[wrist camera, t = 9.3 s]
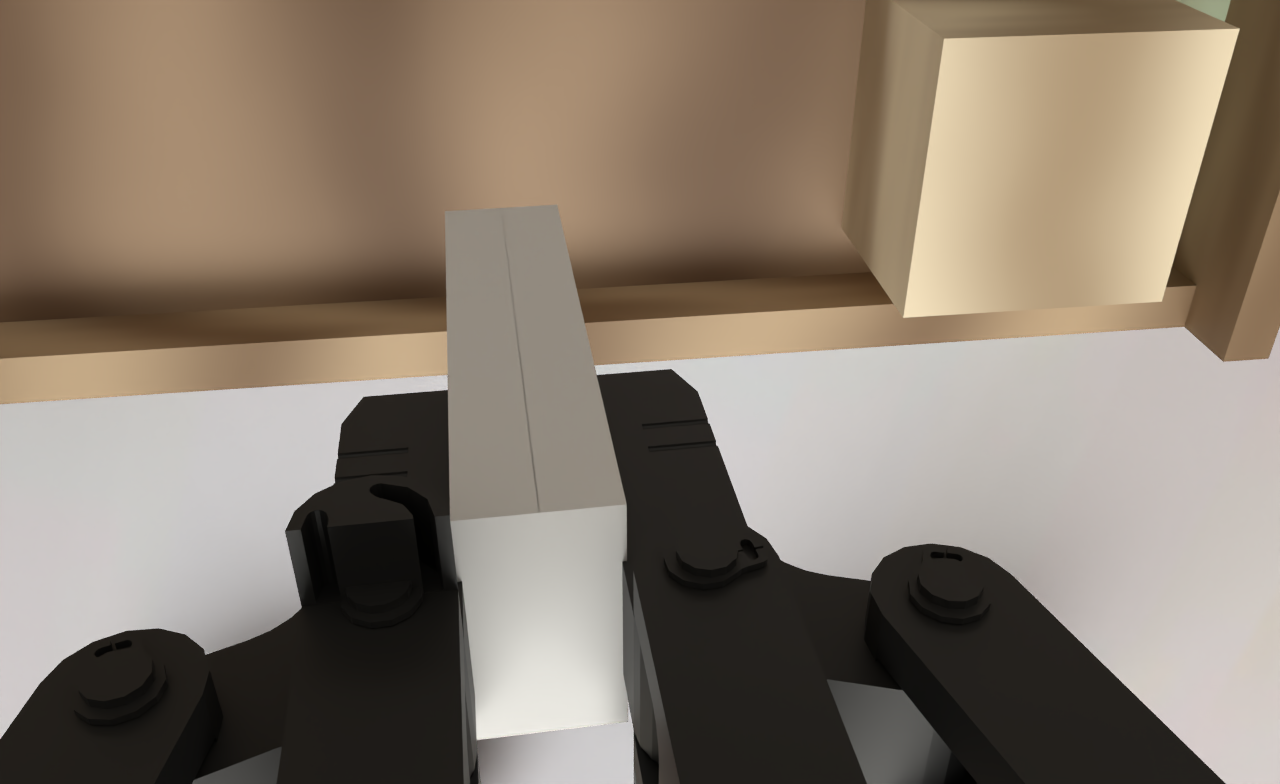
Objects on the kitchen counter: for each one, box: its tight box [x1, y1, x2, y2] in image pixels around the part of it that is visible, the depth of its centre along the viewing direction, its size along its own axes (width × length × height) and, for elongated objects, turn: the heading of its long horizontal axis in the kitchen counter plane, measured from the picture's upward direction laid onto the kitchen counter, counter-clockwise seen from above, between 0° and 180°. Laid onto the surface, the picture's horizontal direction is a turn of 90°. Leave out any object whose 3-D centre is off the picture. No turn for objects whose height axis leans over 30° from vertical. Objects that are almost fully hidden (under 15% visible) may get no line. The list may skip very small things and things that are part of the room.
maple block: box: [842, 0, 1240, 318], centre depth 21 cm, size 5×5×4 cm
